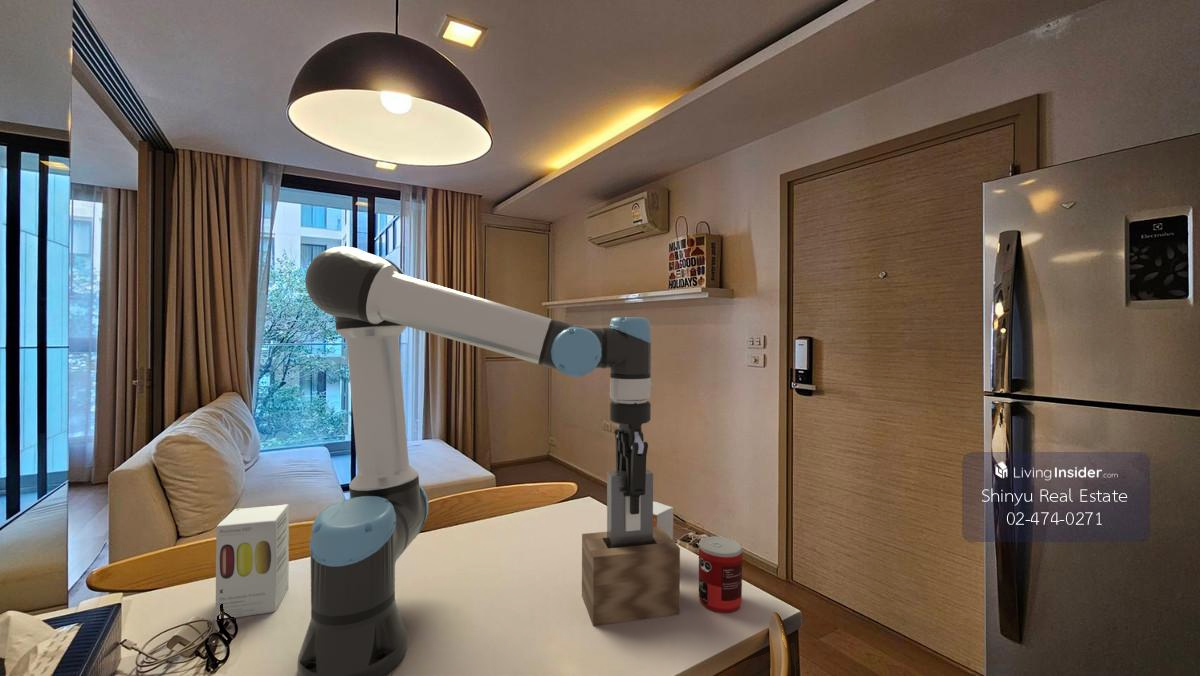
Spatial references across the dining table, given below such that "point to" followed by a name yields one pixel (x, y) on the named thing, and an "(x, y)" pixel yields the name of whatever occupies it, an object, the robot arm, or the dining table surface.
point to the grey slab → (617, 512)
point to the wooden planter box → (630, 579)
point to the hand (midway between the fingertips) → (629, 525)
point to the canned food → (720, 574)
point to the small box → (663, 517)
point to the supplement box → (252, 560)
